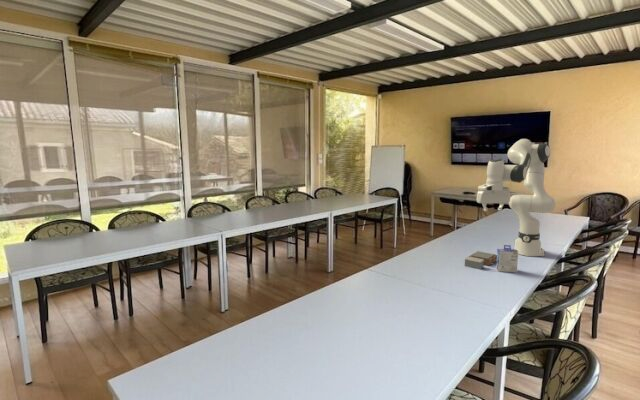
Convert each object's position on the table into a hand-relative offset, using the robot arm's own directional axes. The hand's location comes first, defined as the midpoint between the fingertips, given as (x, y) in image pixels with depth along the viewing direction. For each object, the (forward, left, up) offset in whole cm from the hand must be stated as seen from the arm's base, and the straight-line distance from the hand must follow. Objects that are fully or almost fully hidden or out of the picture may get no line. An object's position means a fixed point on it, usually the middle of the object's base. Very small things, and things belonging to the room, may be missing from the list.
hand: (492, 210), depth 202 cm
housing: (+8, -6, -34) cm, 35 cm away
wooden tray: (-6, -6, -33) cm, 34 cm away
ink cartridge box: (+2, +10, -34) cm, 35 cm away
